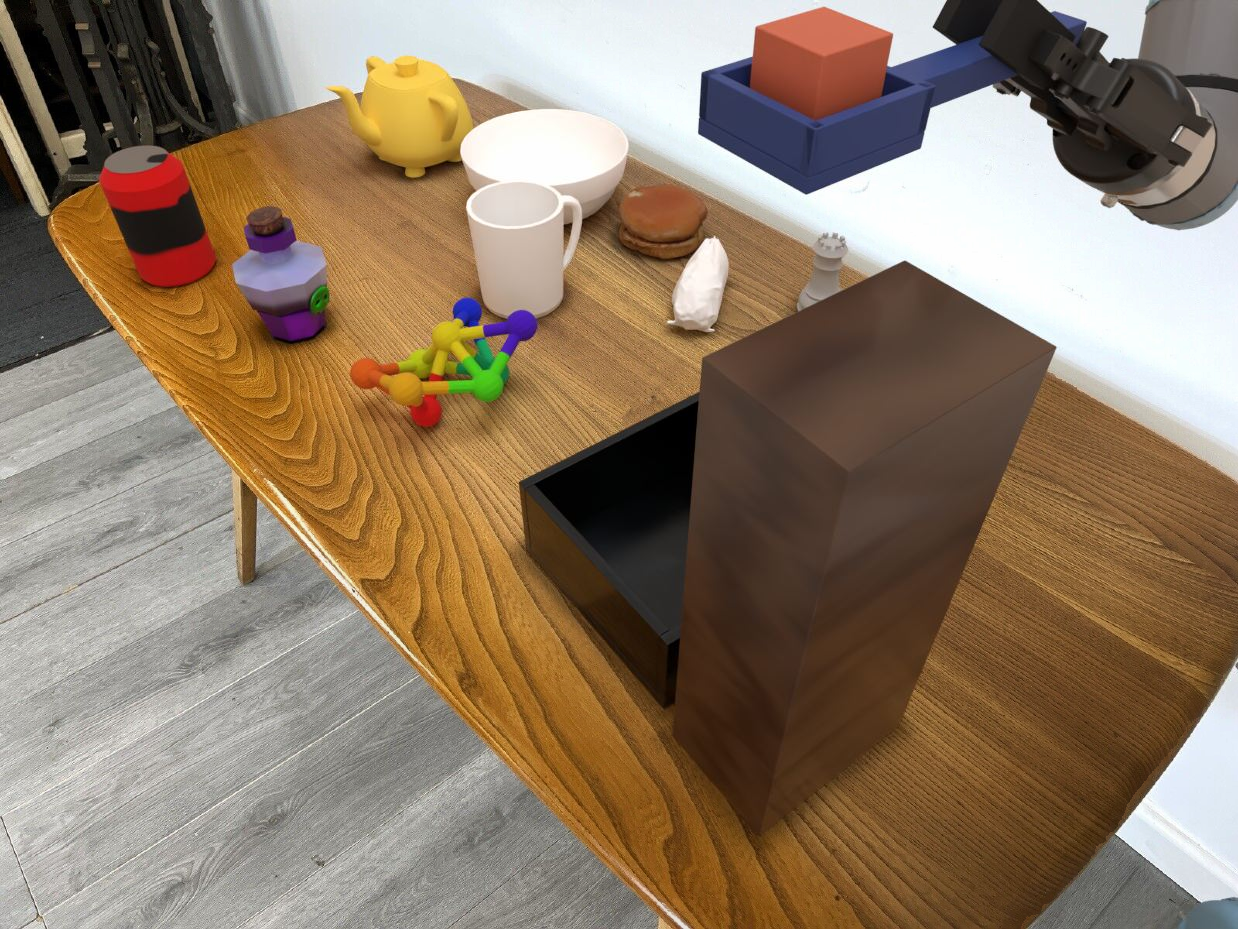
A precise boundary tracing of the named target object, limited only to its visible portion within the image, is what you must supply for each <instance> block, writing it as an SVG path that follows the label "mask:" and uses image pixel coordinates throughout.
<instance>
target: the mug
mask: <svg viewBox="0 0 1238 929" xmlns="http://www.w3.org/2000/svg"><path fill="white" fill-rule="evenodd" d="M564 205H569V206H570V207H572V210H573V222H572V225H571V232H570V236H569V240H568V242H567V243H568V244H567V247H566V249H565V251H564V224H563V210H564ZM465 210H466V215H467V221H468V226H469V232H470V237H471V242H472V249H473V254H474V259H475V260H474V261H475V264H476V270H477V276H478V280H479V281H478V282H479V287H480V291H481V298H482V301H483V305H484V306H485V307H486V309H488V311H489V312H490V313H492V314H494V315H495V316H496V317H499V318H502V319H505V320H507V318H508V317H509V315H510V314H512V313H513V312H515V311H518V310H526V311H528V312H530V313H532V314H533V315H534V317H535V318H536V320H537V319H539V318H543V317H545V316H547V315H549V314H550V313H553V312H554V311H555V310H556V309H557V308H558V307H559V306H560V305H561V303H562V301H563V299H564V271H565V270H566V269H567V268H568V266H569V265H570V264H571V262H572V259H573V258H574V255H575V253H576V250H577V246H578V243H579V240H580V236H581V231H582V226H583V225H582V224H583V219H582V208H581V206H580V204H579V201H578V200H577V199H575V198H573V197H572V196H567V195H563V196H561V194H560V193H559V192H558V191H557V190H556V189H554V188H552V187H550V186H548V185H546V184H543V183H539V182H536V181H527V180H510V181H502V182H497V183H494V184H490V185H487V186H485V187H483V188H481V189H479V190H477V191H476V190H475V192H473V193H472V194H471V195H470V196H469V198H468V199H467V201H466V207H465Z"/></svg>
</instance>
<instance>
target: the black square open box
mask: <svg viewBox="0 0 1238 929" xmlns="http://www.w3.org/2000/svg"><path fill="white" fill-rule="evenodd" d="M699 392H700V391H698V392H696V393H694V394H692V395H689V396H688V397H686V398H683V399H681V400H679V401H678V402H675V403H674V404H672V405H670V406H667V407H666V408H664V409H662V410H660V411H658V412H656V413H654V414H651V415H650V416H648V417H646V418H644V419H642V420H640V421H638V422H636V423H634V424H631V425H629V426H628V427H626V428H624V429H622V430H620V431H618V432H616V433H613V434H612V435H610V436H608V437H606V438H604V439H602V440H600V441H598V442H596V443H594V444H592V445H589V446H588V447H586V448H584V449H581V450H579V451H578V452H576V453H574V454H572V455H569V456H568V457H566V458H564V459H562V460H560V461H557V462H555V463H554V464H551V465H549V466H548V467H545V468H544V469H541V470H540V471H538V472H535V473H534V474H531V475H530V476H527V477H525V478H523V479H522V480H520V481H518V489H519V499H520V508H521V517H522V525H523V533H524V543H525V550H526V552H527V553H528V555H530V556H531V558H532V559H533V560H534V561H535V562H536V563H537V565H538V566H539V567H540V568H541V569H542V570H543V571H544V572H545V574H546V575H547V576H548V578H550V580H551V581H552V582H553V583H554V584H555V585H556V586H557V588H558V589H560V591H561V592H562V593H563V595H564V596H565V597H566V598H567V599H568V601H569V602H570V603H571V604H572V605H573V606H574V608H576V610H577V611H578V612H579V613H580V614H581V616H582V617H583V618H584V619H585V620H586V621H587V623H588V624H589V625H590V626H591V627H592V628H593V629H594V631H595V632H596V633H597V634H598V635H599V636H600V638H602V640H603V641H604V642H605V644H606V645H608V647H609V648H610V649H611V651H612V652H614V654H615V655H616V656H617V657H618V659H619V660H620V661H621V662H622V663H623V664H624V666H626V668H627V669H628V670H629V671H630V672H631V674H632V675H633V676H634V677H635V678H636V679H637V680H638V681H639V683H640V684H641V685H642V686H643V688H645V690H646V691H647V692H648V693H649V694H650V696H651V697H652V698H653V699H654V700H655V701H656V703H658V704H659V706H660V707H661V709H662V710H664V711H665V710H666V709H668V708H669V707H670V706H672V705H673V704H674V705H675V697H676V685H677V672H678V659H679V646H680V634H681V621H682V608H683V596H684V583H685V570H686V557H687V545H688V532H689V519H690V506H691V494H692V481H693V468H694V455H695V443H696V430H697V417H698V404H699Z"/></svg>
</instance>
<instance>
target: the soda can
mask: <svg viewBox="0 0 1238 929" xmlns="http://www.w3.org/2000/svg"><path fill="white" fill-rule="evenodd" d="M98 181H99V184H100V187H101V190H102V191H103V193H104V195H105V199H106V201H107V203H108V206H109V208H110V210H111V212H112V215H113V217H114V219H115V222H116V224H117V226H118V229H119V232H120V233H121V236H122V238H123V240H124V243H125V245H126V247H127V249H128V252H129V255H130V256H131V258H132V261H133V264H134V266H135V268H136V271H137V273H138V275H139V278H141V279H142V280H143V281H145V282H147V283H148V284H150V285H152V286H155V287H161V288H172V287H180V286H185V285H189V284H192V283H194V282H197V281H199V280H200V279H203V278H204V277H206V275H208V274H209V273H210V272H211V271H212V269H213V268H214V266H215V263H216V260H217V258H216V254H215V251H214V248H213V245H212V243H211V240H210V236H209V233H208V231H207V228H206V226H205V225H206V224H205V223H204V220H203V217H202V214H201V211H200V208H199V206H198V203H197V200H196V197H195V195H194V192H193V189H192V186H191V183H190V181H189V178H188V175H187V172H186V169H185V167H184V164H183V162H182V160H180V159H178V158H177V157H176V156H174V155H173V154H171V153H169V152H168V151H167V150H166V149H165V148H163V147H160V146H157V145H137V146H136V145H135V146H131V147H126V148H124V149H123V148H122V149H121V150H118V151H116V152H114V153H112V154H110V155H109V156H108V157H107V158H106V159H105V161H104V162H103V168H102V170H101V173H100V176H99V178H98Z"/></svg>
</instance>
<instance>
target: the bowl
mask: <svg viewBox="0 0 1238 929" xmlns="http://www.w3.org/2000/svg"><path fill="white" fill-rule="evenodd" d="M629 151H630V144H629V139H628V137H627V135H626V134H625V132H624V131H623V129H621V128H620V127H619V126H618V125H617V124H615V123H613V122H611V121H610V120H608V119H606V118H603V117H600V116H598V115H595V114H592V113H588V112H584V111H579V110H573V109H572V110H571V109H561V108H535V109H526V110H520V111H515V112H510V113H506V114H502V115H499V116H497V117H493V118H490V119H488V120H487V121H483V122H482V123H480V124H479V125H477V126H475V127H473V130H471V131H470V132H469V133H468V134H467V135H466V136H465V138H464V140H463V142H462V143H461V150H460V155H461V158H462V160H461V161H462V163H463V164H462V165H463V167H464V170H465V172H466V176H467V179H468V181H469V183H470V185H471V186H472V188H473V189H474V190H475V192H476V191H477V190H479V189H481V188H483V187H485V186H487V185H490V184H494V183H497V182H502V181H510V180H527V181H536V182H539V183H543V184H546V185H548V186H550V187H552V188H554V189H556V190H557V191H558V192H559V193H560V194H561V196H563V195H567V196H572V197H573V198H575V199H577V200H578V201H579V204H580V206H581V208H582V220H584V219H587V218H589V217H590V216H593V215H594V214H596V213H597V212H598V211H599V210H601V209H602V208H603V206H604V205H605V204H606V203H607V202H608V201H609V200H610V199H611V197H612V196H613V195H614V193H615V191H616V189H617V186H618V185H619V183H620V182H621V180H623V178H624V174H625V169H626V165H627V160H628V155H629ZM568 224H573V210H572V207H570V206H569V205H564V210H563V225H568Z"/></svg>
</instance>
